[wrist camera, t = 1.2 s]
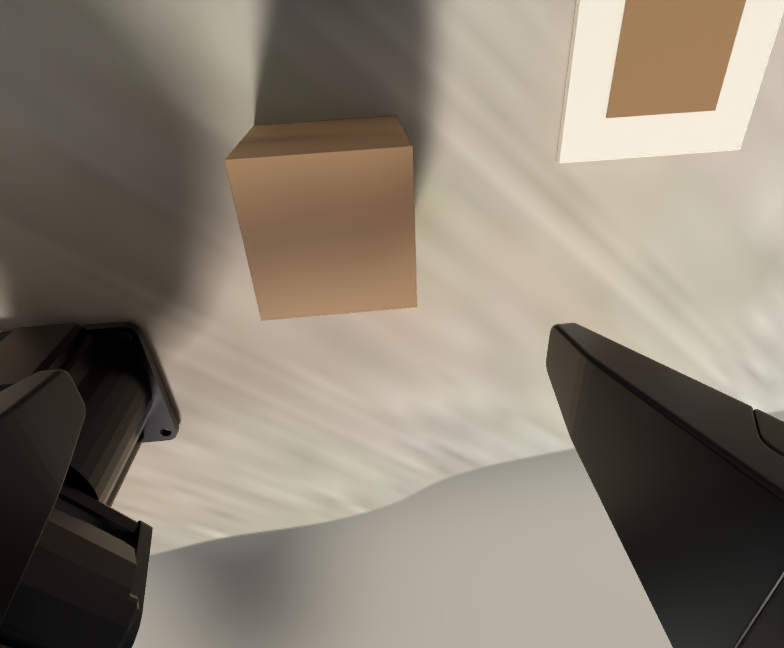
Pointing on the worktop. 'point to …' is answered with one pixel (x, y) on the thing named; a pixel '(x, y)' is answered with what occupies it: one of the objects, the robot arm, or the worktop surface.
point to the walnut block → (327, 216)
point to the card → (663, 76)
